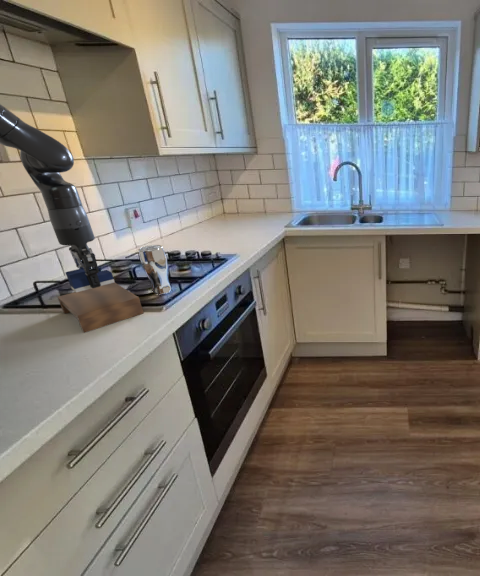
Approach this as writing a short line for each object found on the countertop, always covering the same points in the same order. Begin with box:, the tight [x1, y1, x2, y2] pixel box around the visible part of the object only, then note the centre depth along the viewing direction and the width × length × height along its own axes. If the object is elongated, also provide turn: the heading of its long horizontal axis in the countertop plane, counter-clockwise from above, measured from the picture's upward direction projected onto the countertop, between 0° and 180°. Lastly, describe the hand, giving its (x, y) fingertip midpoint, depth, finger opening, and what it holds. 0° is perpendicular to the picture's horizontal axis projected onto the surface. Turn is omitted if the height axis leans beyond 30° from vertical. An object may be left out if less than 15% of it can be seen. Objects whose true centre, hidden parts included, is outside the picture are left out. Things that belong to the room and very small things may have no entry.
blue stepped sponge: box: [65, 268, 116, 292], centre depth 100 cm, size 9×4×5 cm, turn 141°
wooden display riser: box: [57, 282, 145, 334], centre depth 103 cm, size 14×20×5 cm
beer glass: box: [137, 244, 174, 295], centre depth 114 cm, size 7×7×15 cm
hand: (93, 284), depth 101 cm, fingers closed on blue stepped sponge, 4 cm apart
